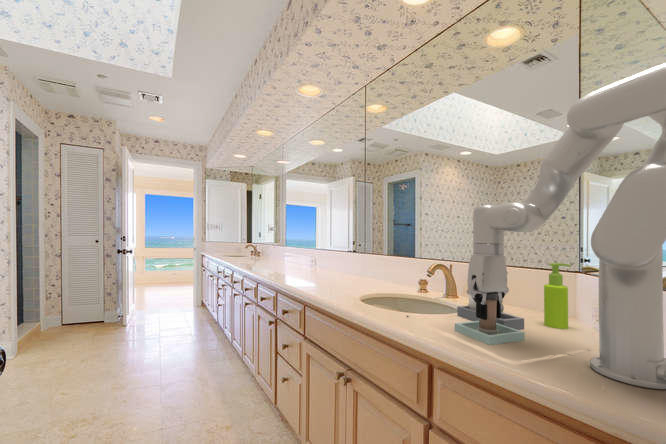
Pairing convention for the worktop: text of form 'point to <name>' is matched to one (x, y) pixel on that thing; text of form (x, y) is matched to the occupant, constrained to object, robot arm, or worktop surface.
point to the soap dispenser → (556, 300)
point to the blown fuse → (489, 315)
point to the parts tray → (505, 337)
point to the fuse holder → (504, 320)
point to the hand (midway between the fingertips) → (488, 317)
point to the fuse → (472, 303)
